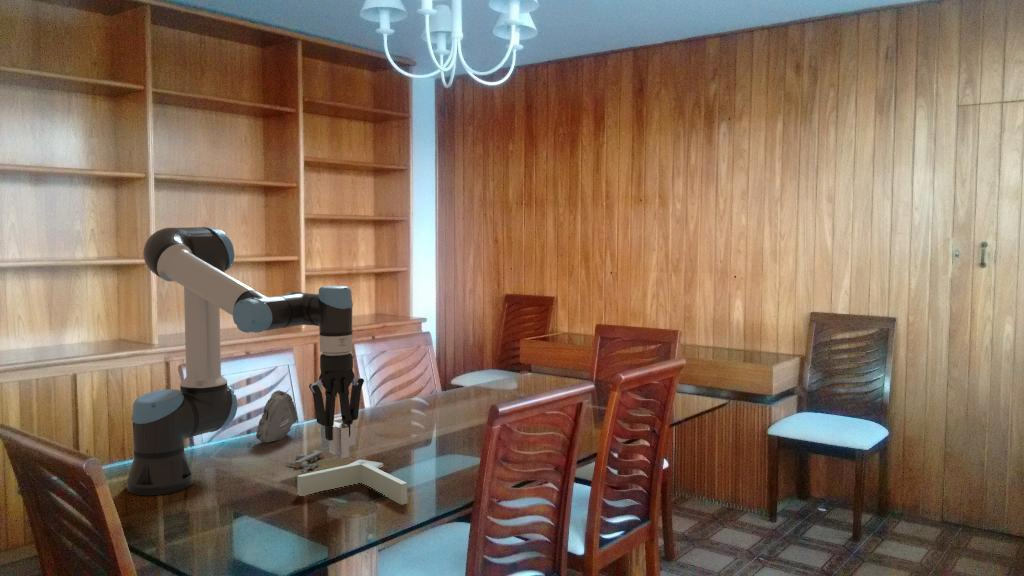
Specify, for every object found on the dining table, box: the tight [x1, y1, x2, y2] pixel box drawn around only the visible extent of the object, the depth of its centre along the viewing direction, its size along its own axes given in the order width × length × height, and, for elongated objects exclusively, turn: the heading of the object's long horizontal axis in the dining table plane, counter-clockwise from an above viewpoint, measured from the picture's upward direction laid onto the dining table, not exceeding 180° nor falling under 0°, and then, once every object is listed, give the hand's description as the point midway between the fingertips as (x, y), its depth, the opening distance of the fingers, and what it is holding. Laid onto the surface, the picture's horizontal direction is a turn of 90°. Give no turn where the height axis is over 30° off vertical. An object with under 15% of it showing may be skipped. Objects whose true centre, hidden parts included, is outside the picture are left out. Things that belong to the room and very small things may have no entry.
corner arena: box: [296, 462, 408, 506], centre depth 193 cm, size 18×21×5 cm
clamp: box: [285, 449, 325, 474], centre depth 220 cm, size 15×2×10 cm
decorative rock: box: [255, 389, 299, 443], centre depth 243 cm, size 16×7×15 cm, turn 158°
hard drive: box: [347, 459, 384, 469], centre depth 215 cm, size 2×8×12 cm
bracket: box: [320, 416, 356, 459], centre depth 191 cm, size 10×8×7 cm
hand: (338, 451), depth 188 cm, fingers closed on bracket, 2 cm apart
